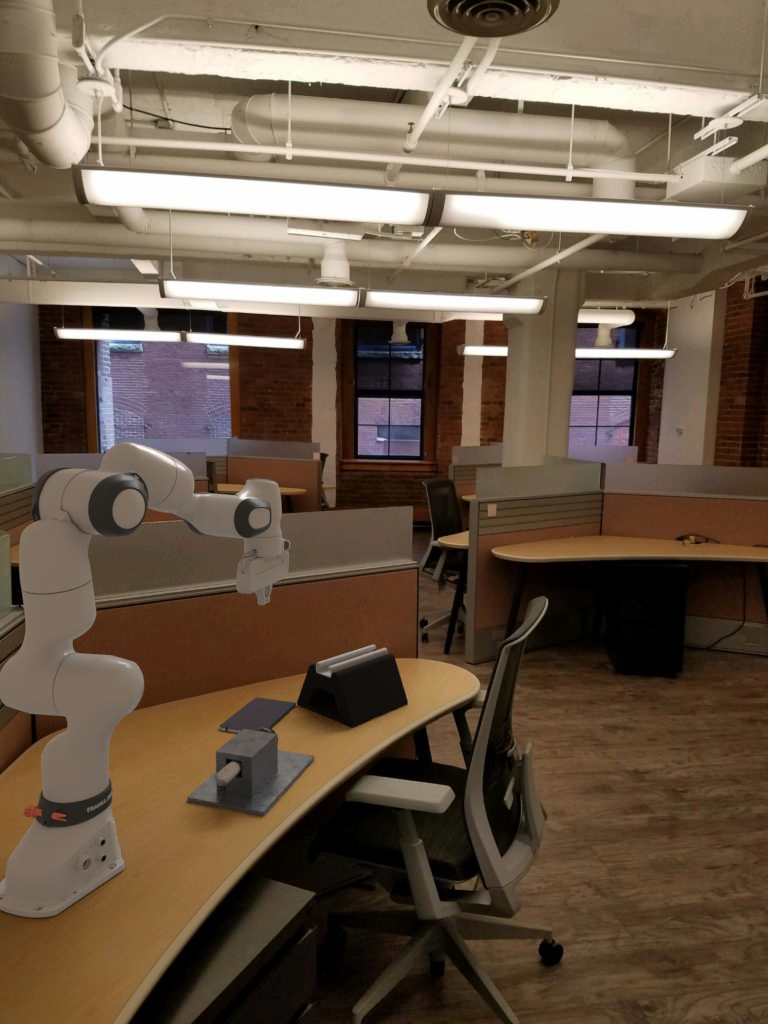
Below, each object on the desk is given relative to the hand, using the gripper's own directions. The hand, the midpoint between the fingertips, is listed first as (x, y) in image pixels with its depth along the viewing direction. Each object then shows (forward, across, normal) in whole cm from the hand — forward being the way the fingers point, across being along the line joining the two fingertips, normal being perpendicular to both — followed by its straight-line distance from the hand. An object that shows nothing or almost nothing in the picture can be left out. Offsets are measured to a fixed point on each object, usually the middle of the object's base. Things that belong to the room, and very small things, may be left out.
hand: (263, 603), depth 169 cm
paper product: (+38, +18, +11) cm, 43 cm away
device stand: (+38, +35, -10) cm, 52 cm away
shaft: (+33, -17, -4) cm, 37 cm away
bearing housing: (+37, -13, -4) cm, 40 cm away
